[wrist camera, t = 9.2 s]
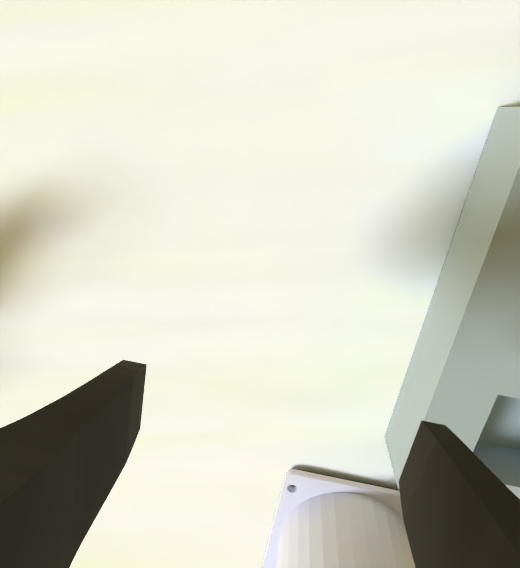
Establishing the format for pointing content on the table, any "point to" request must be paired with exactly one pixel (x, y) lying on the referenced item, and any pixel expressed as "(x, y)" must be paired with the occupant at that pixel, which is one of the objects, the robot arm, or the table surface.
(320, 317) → the table surface
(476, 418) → the hole block
